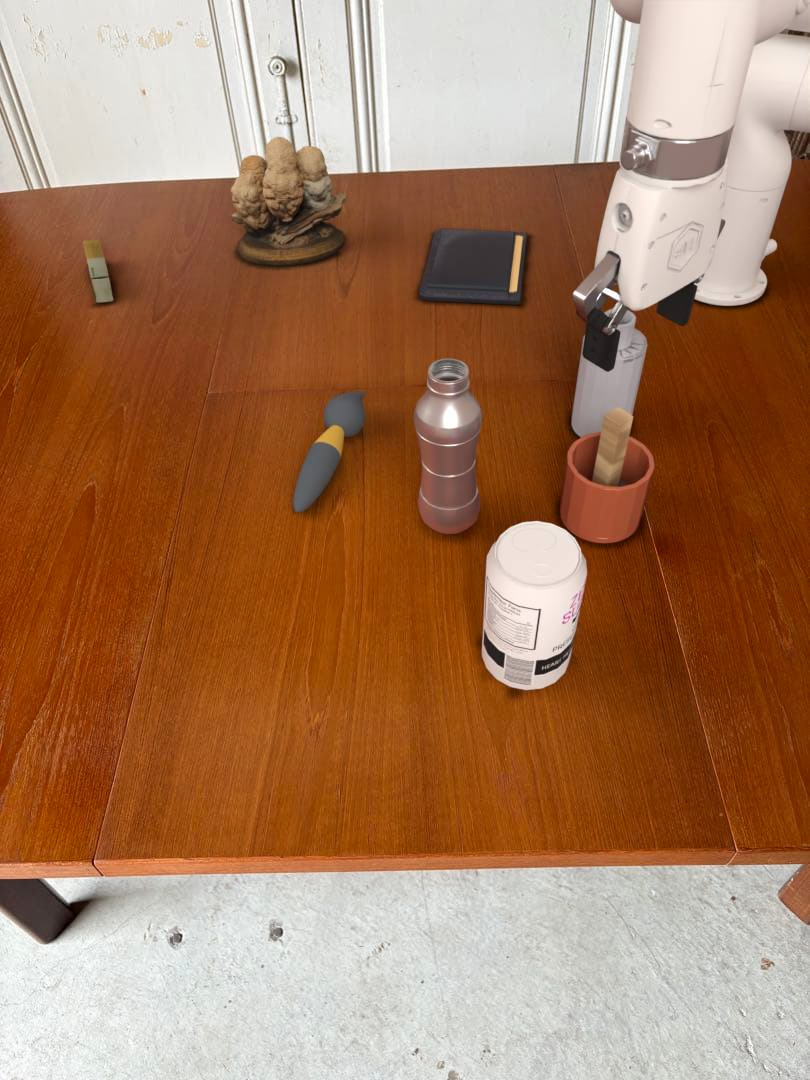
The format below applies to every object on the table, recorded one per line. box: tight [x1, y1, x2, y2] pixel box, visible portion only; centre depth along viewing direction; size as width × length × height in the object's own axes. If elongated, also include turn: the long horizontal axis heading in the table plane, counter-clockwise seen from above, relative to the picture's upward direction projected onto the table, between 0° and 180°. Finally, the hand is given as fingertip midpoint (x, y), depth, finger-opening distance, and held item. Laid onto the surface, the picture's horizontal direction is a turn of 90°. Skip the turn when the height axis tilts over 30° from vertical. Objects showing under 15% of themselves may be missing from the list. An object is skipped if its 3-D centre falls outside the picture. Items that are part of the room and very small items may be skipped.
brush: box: [592, 407, 634, 487], centre depth 83 cm, size 5×3×13 cm, turn 129°
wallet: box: [418, 227, 528, 306], centre depth 122 cm, size 20×2×15 cm
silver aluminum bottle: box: [413, 358, 483, 535], centre depth 81 cm, size 6×7×20 cm
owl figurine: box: [230, 136, 348, 267], centre depth 123 cm, size 18×12×17 cm, turn 96°
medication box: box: [82, 239, 114, 304], centre depth 123 cm, size 12×3×4 cm, turn 20°
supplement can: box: [481, 520, 588, 691], centre depth 71 cm, size 8×8×15 cm
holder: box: [559, 432, 655, 544], centre depth 85 cm, size 9×9×8 cm
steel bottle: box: [571, 308, 648, 438], centre depth 92 cm, size 7×7×15 cm
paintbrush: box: [292, 391, 367, 514], centre depth 94 cm, size 20×5×5 cm, turn 167°
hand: (635, 340), depth 72 cm, fingers open, 9 cm apart
